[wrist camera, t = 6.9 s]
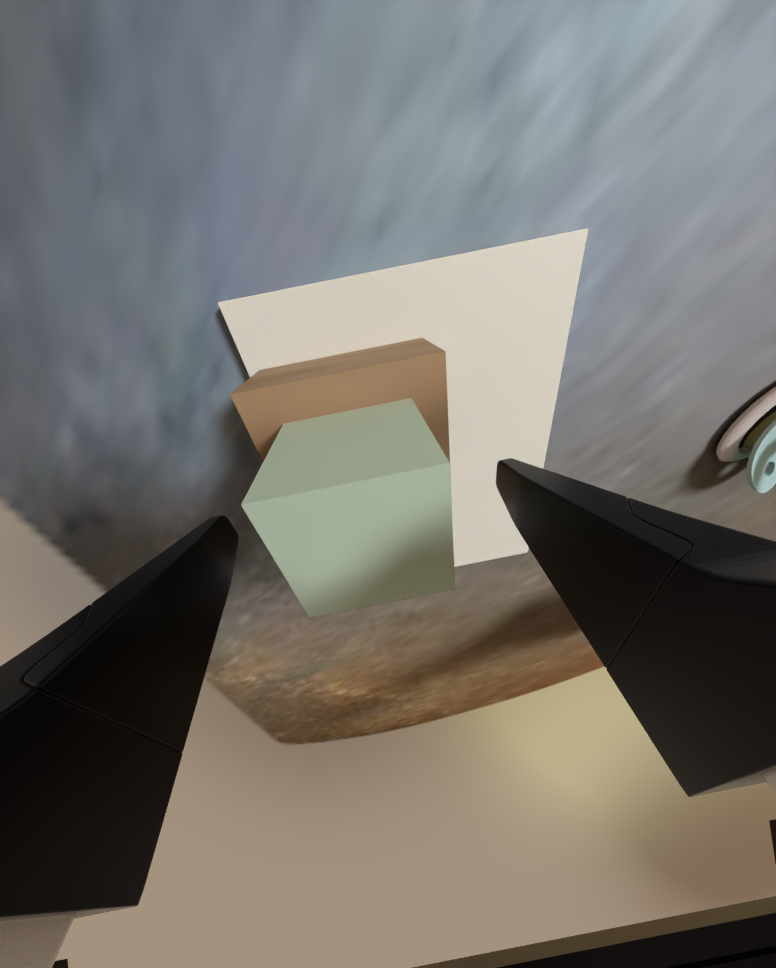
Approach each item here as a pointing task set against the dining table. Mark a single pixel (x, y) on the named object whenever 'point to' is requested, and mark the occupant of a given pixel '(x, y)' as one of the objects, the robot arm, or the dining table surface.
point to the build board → (447, 355)
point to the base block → (347, 389)
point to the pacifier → (754, 443)
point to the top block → (357, 508)
